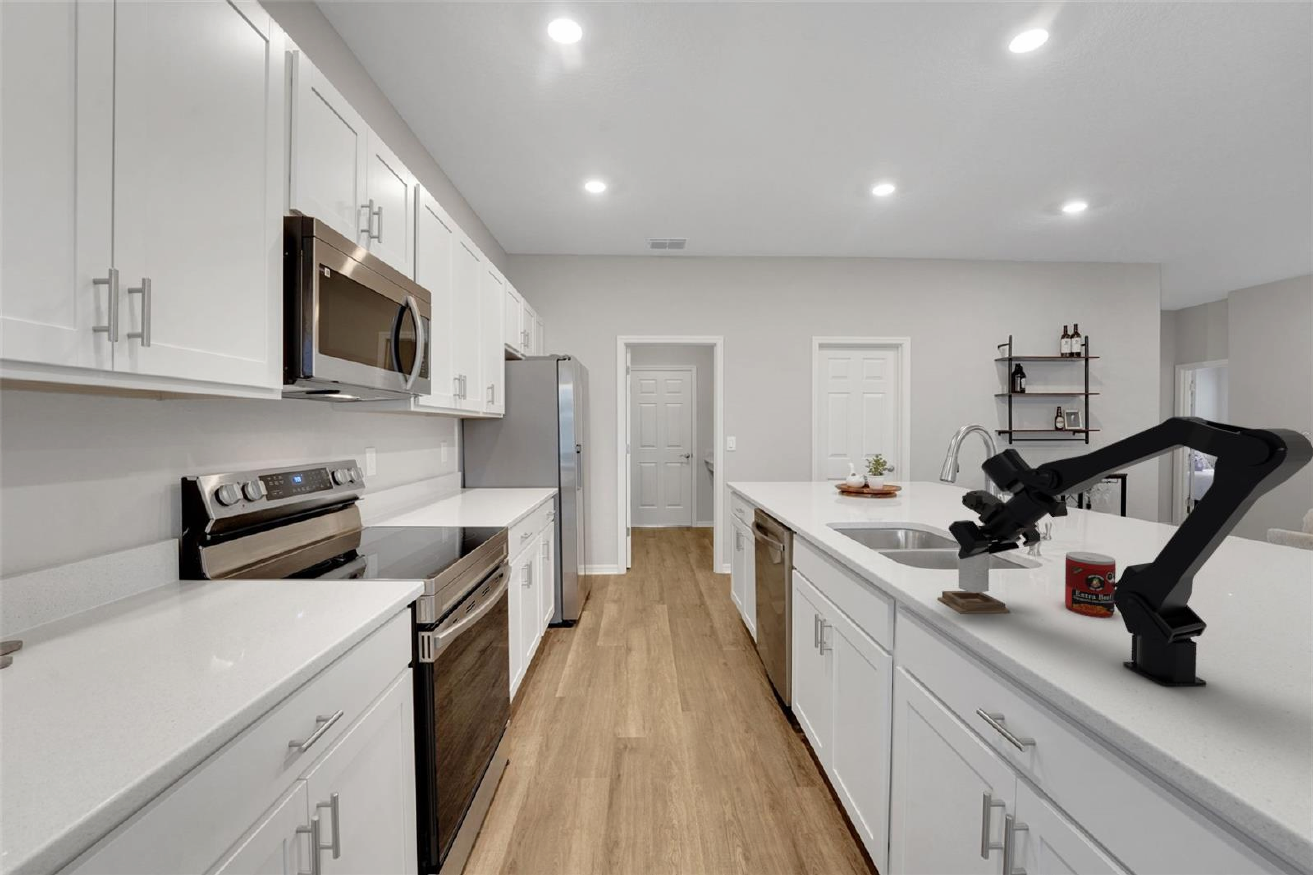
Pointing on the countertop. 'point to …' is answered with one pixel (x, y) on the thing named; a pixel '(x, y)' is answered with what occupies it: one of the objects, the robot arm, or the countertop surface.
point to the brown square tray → (972, 602)
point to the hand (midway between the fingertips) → (967, 556)
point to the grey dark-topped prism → (974, 573)
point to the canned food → (1090, 583)
